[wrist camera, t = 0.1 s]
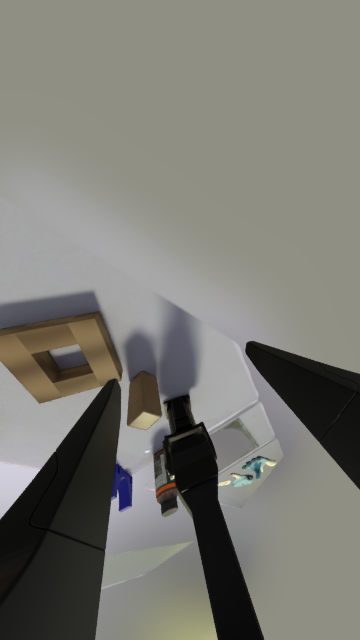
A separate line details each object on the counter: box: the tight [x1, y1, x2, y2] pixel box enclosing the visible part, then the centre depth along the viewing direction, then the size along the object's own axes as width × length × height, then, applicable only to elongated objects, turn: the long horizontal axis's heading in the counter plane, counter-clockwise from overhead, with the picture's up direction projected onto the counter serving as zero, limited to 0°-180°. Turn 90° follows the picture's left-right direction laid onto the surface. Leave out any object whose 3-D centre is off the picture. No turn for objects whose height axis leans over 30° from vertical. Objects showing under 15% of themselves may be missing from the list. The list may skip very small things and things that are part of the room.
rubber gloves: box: [218, 457, 276, 487], centre depth 76 cm, size 27×33×6 cm
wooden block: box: [127, 371, 162, 430], centre depth 24 cm, size 4×4×8 cm
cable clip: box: [111, 465, 132, 512], centre depth 38 cm, size 12×4×6 cm, turn 11°
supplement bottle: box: [154, 450, 178, 517], centre depth 38 cm, size 6×6×11 cm
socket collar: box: [0, 312, 123, 404], centre depth 20 cm, size 12×12×2 cm
